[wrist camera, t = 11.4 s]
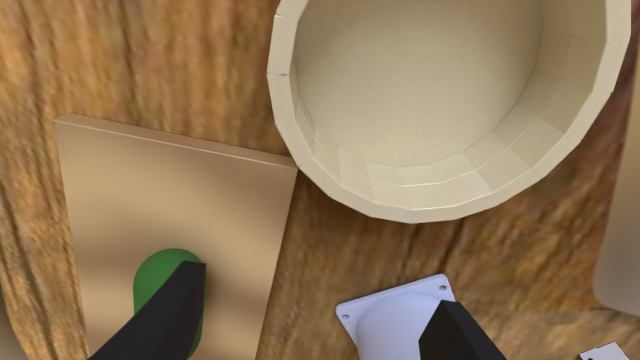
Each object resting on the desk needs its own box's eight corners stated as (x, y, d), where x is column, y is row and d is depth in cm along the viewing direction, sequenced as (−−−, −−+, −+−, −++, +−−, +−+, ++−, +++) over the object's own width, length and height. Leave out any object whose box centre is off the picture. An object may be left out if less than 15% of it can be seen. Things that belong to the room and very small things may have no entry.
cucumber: (200, 325, 25) (198, 378, 22) (141, 328, 24) (130, 385, 21) (209, 235, 21) (208, 284, 18) (139, 233, 20) (124, 286, 17)
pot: (564, 122, 18) (631, 161, 14) (340, 204, 21) (345, 256, 17) (535, -186, 13) (633, -257, 9) (228, -20, 15) (197, -18, 11)
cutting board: (252, 369, 29) (249, 384, 28) (99, 350, 28) (90, 364, 27) (299, 158, 19) (298, 168, 18) (67, 111, 18) (52, 119, 17)
